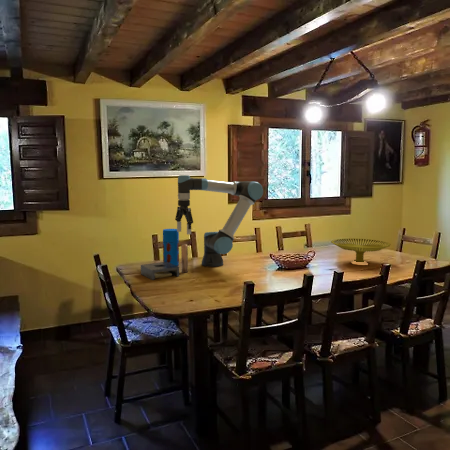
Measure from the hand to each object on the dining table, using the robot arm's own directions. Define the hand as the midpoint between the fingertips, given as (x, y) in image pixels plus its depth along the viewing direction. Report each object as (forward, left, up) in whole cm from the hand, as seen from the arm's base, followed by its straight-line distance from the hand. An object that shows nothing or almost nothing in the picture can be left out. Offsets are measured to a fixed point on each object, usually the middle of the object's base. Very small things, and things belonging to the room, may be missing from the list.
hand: (184, 233), depth 283 cm
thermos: (-1, -22, -26) cm, 34 cm away
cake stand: (-117, +42, -26) cm, 127 cm away
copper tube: (0, 0, -26) cm, 26 cm away
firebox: (+17, -1, -26) cm, 31 cm away
